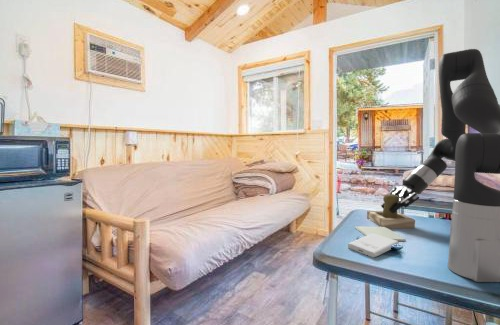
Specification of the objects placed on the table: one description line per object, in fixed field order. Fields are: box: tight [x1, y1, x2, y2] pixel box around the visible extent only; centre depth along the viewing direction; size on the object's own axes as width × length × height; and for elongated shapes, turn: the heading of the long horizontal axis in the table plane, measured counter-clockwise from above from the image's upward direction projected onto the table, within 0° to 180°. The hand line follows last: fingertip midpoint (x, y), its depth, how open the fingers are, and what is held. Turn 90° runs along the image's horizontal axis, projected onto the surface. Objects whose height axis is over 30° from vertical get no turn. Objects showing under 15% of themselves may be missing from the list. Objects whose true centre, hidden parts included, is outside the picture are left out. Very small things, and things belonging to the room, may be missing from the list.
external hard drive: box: [347, 233, 400, 259], centre depth 76 cm, size 2×8×12 cm
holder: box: [366, 210, 416, 229], centre depth 102 cm, size 12×12×3 cm
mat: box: [354, 225, 407, 242], centre depth 89 cm, size 12×11×1 cm
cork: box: [382, 193, 398, 218], centre depth 102 cm, size 6×6×11 cm
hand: (386, 209), depth 102 cm, fingers closed on cork, 5 cm apart
